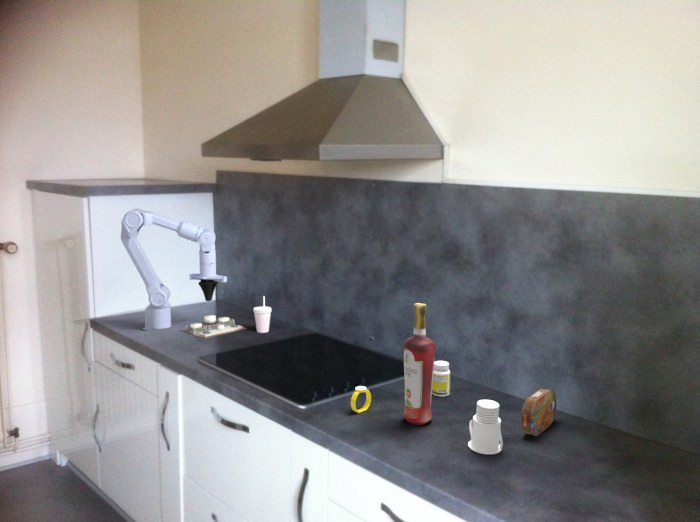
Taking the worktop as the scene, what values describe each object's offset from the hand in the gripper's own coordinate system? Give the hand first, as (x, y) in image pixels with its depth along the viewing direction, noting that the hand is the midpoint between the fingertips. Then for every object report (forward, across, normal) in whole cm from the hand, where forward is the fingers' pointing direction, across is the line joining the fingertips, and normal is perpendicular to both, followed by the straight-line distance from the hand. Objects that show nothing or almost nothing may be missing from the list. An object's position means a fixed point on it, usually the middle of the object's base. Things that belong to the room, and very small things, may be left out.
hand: (208, 300), depth 232 cm
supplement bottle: (+11, +93, -33) cm, 100 cm away
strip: (+9, +9, -6) cm, 14 cm away
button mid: (+7, +3, -4) cm, 9 cm away
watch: (+11, +78, -52) cm, 94 cm away
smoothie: (+11, +22, 0) cm, 25 cm away
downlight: (+11, +110, -62) cm, 126 cm away
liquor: (+11, +92, -53) cm, 107 cm away
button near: (+9, +1, -10) cm, 13 cm away
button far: (+8, +5, +1) cm, 10 cm away
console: (+10, +6, -5) cm, 13 cm away
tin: (+11, +119, -47) cm, 128 cm away
